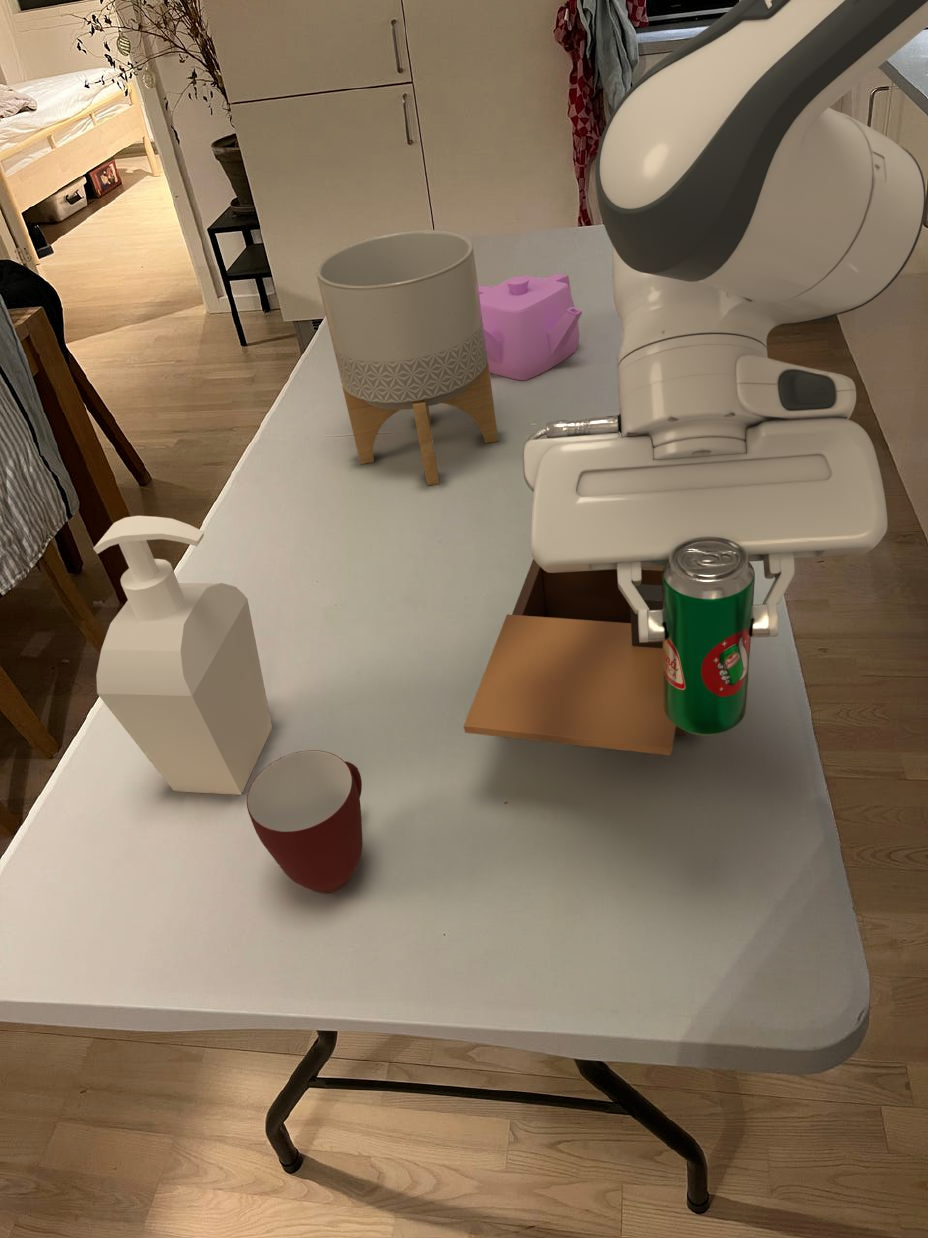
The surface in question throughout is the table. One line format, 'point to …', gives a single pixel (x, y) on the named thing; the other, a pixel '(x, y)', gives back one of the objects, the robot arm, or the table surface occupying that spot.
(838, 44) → the robot arm
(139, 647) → the soap bottle
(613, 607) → the storage box
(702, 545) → the soda can
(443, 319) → the planter
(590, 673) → the sliding lid
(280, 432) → the table surface
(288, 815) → the mug
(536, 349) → the teakettle
